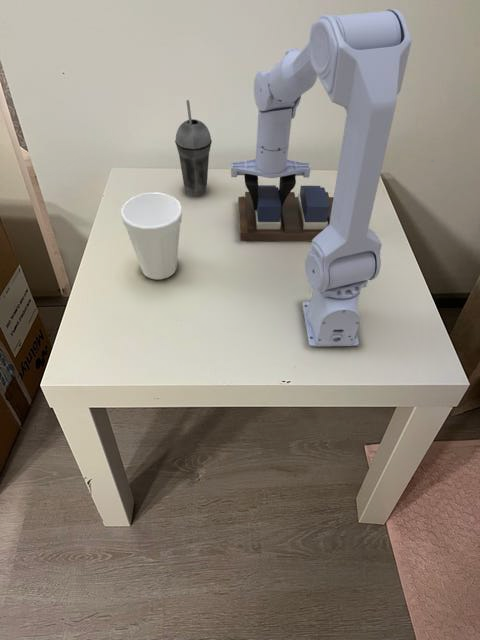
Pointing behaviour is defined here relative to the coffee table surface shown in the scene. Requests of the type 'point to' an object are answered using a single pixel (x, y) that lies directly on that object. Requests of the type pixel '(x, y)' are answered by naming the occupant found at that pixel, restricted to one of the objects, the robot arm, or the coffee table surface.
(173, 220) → the cup
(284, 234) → the slotted wooden tray
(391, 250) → the coffee table surface
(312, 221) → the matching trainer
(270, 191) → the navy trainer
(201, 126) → the beverage cup
